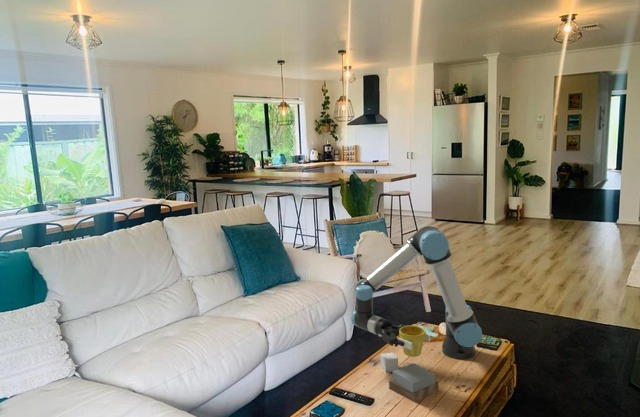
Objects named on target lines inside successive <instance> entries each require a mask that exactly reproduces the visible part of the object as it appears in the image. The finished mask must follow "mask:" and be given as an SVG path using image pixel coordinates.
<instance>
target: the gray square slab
mask: <svg viewBox="0 0 640 417" xmlns="http://www.w3.org/2000/svg"><path fill="white" fill-rule="evenodd" d="M391 373H392V379H393V381H394V382H396V383H398V384H399V385H401V386H403V387H404V388H406V389H407V390H409V391H411V392H412V393H414V392H416V391H419V390H421V389H424V388H426V387H428V386H431V385H433V384H435V381H436V374H435V373H433V372H431V371H429V370H428V369H427V368H424V367H422V366H420V365H418V364H417V363H414V362H413V363H411V364H408V365H405V366H403V367H401V368H398V369H397V370H394V371H392V372H391Z"/></svg>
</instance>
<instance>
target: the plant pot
mask: <svg viewBox="0 0 640 417" xmlns="http://www.w3.org/2000/svg"><path fill="white" fill-rule="evenodd" d="M426 334H427V333H426V329H424V327H421V326H418V325H408V326H404V327H402V328H400V330H399V335H398V336H399V337H398V338H401V339H403V340H406V341H409V342H411V343H412V350H410V349H407V348H405V347H402V348H403V354H404V355H405V356H407V357H413V358H414V357H415V358H416V357H419V356H420V355H421V354H422V349H423V347H424V346H423V345H424V341H425V336H426Z"/></svg>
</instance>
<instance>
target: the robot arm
mask: <svg viewBox="0 0 640 417" xmlns="http://www.w3.org/2000/svg"><path fill="white" fill-rule="evenodd" d="M449 247H450V244H449V240H448V238H447V236H446V235H445V234H444V233H443V232H441V231H440V230H439V229H438V228H437V227H434V226H433V225H432V226H430V225H427V226H422V228H419V229H418V230H417V231H416V232H415V233H414V234H413V235H411V236H410V237H409V238H408V239H407V240H406V244H404V245H402V247H401V248H400V249H398V250H397V251H396V252H394V254H392V255H391V256H390V257H388V259H386V260H385V261H384V262H383V263H381V265H379V266H378V267H377V268H376V269H374V270H373V271H372V272H371V273H370V274H369V275H368V276H366V277H365V278H364V279H360V280H359V281H357V283H355V287H354V293H355V310H354V311H353V312H352V315H351V317H350V318H351V319H350V320H351V323H352V324H353V325H354V326H356V327H357V328H359V329H361V330H364V331H367V332H368V333H369V332H370V333H372V334H374V335H377V336H378V338H379V339H381V340H383V341H384V342H386V343H387V344H388V345H389V346H394V347H395V348H397V347H398V346H400V347H402V348H403V347H405V348H407V349H410V350H412V343H411V342H409V341H406V340H403V339H401V338H400V337H397V336H399V330H400V328H402V327H404V326H409V325H407V324H403V323H398V325H394V324H393V323H392V322H391V320H389V319H385V318H383V317H380V316H378V315H375V314H374V307H373V304H374V302H373V295H374V293H375V292H376V291H377V290H378V289H379V288H381V287H382V286H383V285H385V284H386V283H387V282H388V281H390V279H391V278H393V277H394V276H396V274H397V273H399V272H400V271H402V269H403V268H406V266H408V264H410V263H411V262H412V261H413V260H415V259H416V258H417V257H422V258H423V259H424V262H425V264H426V265H427V266H429V267H430V269H431V271H432V274H433V275H434V279H435V281H436V284H437V286H438V289H439V292H440V295H441V296H442V299H443V303H444V304H445V310H444V312H445V337H444V340H443V342H442V345H441V352H442V353H443V354H444V355H445V356H447V357H450V358H453V359H463V360H464V359H465V360H466V359H470V358H472V357H474V356H475V354H476V347H475V346H477V344H479V343H480V341H481V340H482V338H483V331H482V328H481V327H480V325H479V323H478V322H477V318H476V316H475V313H474V311H473V310H472V307H471V306H470V305H468V304H467V303H466V300H465V297H464V295H463V292H462V290H461V286H460V283H459V281H458V279H457V277H456V276H457V275H456V273H455V271H454V268H453V265H452V263H451V257H452V252H451V250H450V248H449ZM424 341H425V342H429V343H430V342H431V334H429V333H426V336H425V340H424Z"/></svg>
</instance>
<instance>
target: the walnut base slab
mask: <svg viewBox="0 0 640 417" xmlns="http://www.w3.org/2000/svg"><path fill="white" fill-rule="evenodd" d="M388 389H389V390H391V391H393V392H395V393H396V394H398V395H400V396H402V397H404V398H406V399H408V400H410V401H411V402H413V403H415V404H416V403H418V402H420V401H421V400H423V399H425V398H427V397H429V396H430V395H432V394H434V393H436V392H438V391H439V381H437V380H435V384H433V385H431V386H428V387H426V388H424V389H421V390H419V391H416V392H414V393H412V392H411V391H409V390H407V389H406V388H404V387H403V386H401V385H399V384H398V383H396V382H394V381H393V378H392V379H390V380H388Z"/></svg>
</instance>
